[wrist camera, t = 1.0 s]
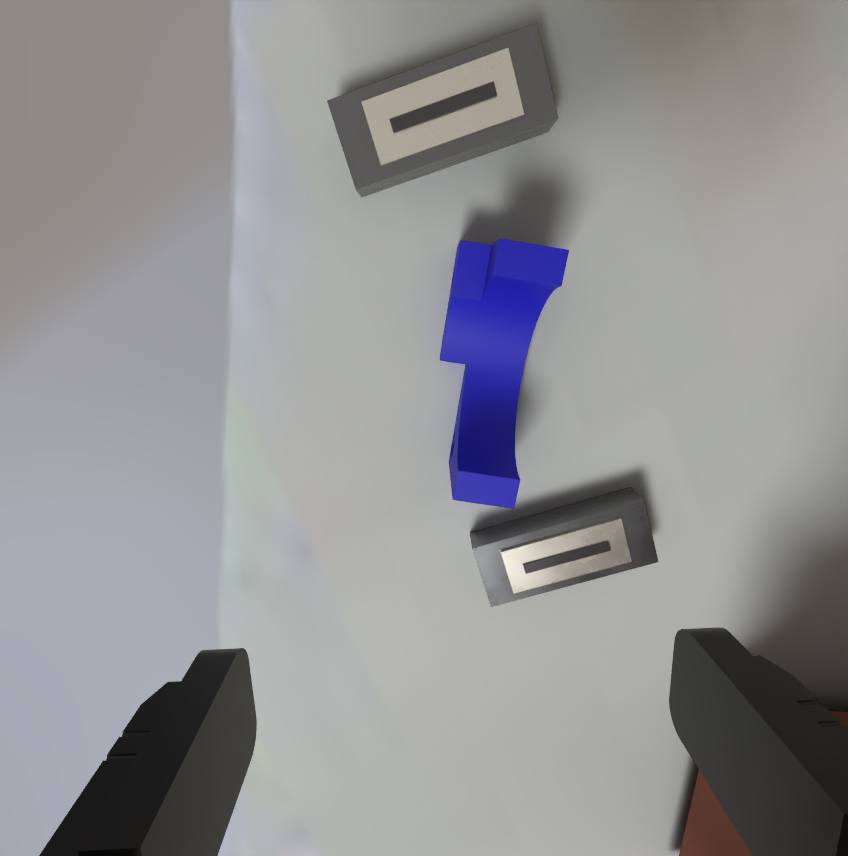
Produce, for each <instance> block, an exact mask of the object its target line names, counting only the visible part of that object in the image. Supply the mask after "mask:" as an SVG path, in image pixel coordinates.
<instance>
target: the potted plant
mask: <svg viewBox="0 0 848 856" xmlns="http://www.w3.org/2000/svg"><path fill="white" fill-rule="evenodd" d="M829 712H830V713H832V714H833V715H834V716H835V717H836V718H837V719H838V720H839V724H840V726H845V727H846V728H847V729H848V712H839V711H829ZM679 856H753V855H752V854H751V852H750V851H749V849H748V847H747V846H746V844H745V843H744V841H743V839H742V838H741V836H740V835H739V833H738V831H737V830H736V828H735V827H734V825H733V823H732V822H731V820H730V818H729V817H728V815H727V814H726V812H725V810H724V809H723V807H722V806H721V804H720V802H719V801H718V799H717V798H716V796H715V794H714V793H713V791H712V790H711V788H710V786H709V785H708V783H707V781H706V780H705V778H704V777H703V775H702V773H701V772H700V770H699V772H698V776H697V780H696V785H695V789H694V793H693V798H692V802H691V806H690V811H689V815H688V819H687V824H686V828H685V832H684V837H683V841H682V845H681V850H680V854H679Z"/></svg>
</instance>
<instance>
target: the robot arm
mask: <svg viewBox="0 0 848 856" xmlns="http://www.w3.org/2000/svg"><path fill="white" fill-rule="evenodd" d="M669 705H670V712H671V717H672V721H673V724H674V727H675V729H676V732H677V734H678V736H679V738H680V740H681V741H682V743H683V744H684V746H685V748H686V749H687V751H688V753H689V754H690V756H691V757H692V759H693V761H694V762H695V764H696V765H697V767H698V769H699V770H700V772H701V773H702V775H703V777H704V778H705V780H706V781H707V783H708V785H709V786H710V788H711V790H712V791H713V793H714V794H715V796H716V798H717V799H718V801H719V802H720V804H721V806H722V807H723V809H724V810H725V812H726V814H727V815H728V817H729V818H730V820H731V822H732V823H733V825H734V827H735V828H736V830H737V831H738V833H739V835H740V836H741V838H742V839H743V841H744V843H745V844H746V846H747V847H748V849H749V851H750V852H751V854H752V855H753V856H848V729H847V728H846V727H845V726H840V724H839V720H838V719H837V718H836V717H835V716H834V715H833V714H832V713H830V712H829V711H828V710H827V709H826V708H825V707H824V706H823V705H819V704H818V702H817V699H816V698H815V697H814V696H813V695H812V694H811V693H810V692H809V691H808V690H807V689H806V688H805V687H804V686H803V685H802V684H801V683H800V682H799V681H797V680H796V679H795V678H794V677H793V676H792V675H791V674H789V673H788V672H786V671H784V670H783V669H781V668H779V667H778V666H776V665H774V664H773V663H771V662H770V661H768V660H766V659H765V658H763V657H761V656H752V655H751V654H750V653H749V652H748V651H747V650H746V649H745V648H744V647H743V646H742V645H741V644H740V643H739V641H738V640H737V639H736V638H735V637H734V636H733V635H732V634H731V633H730V632H729V631H727V630H726V629H724V628H699V629H681V630H679V631H678V632H677V634H676V637H675V642H674V653H673V664H672V674H671V685H670V696H669ZM255 739H256V712H255V704H254V697H253V689H252V681H251V674H250V666H249V659H248V655H247V652H246V650H245V649H244V648H239V649H217V650H203V651H201V652H200V653H198V655H197V656H196V658H195V660H194V661H193V663H192V664H191V666H190V668H189V669H188V671H187V673H186V674H185V676H184V678H183V679H182V681H180V682H168V683H166V684H165V685H164V686H163V687H161V688H160V689H159V690H158V691H157V692H155V694H153V695H152V696H151V697H150V698H148V699H147V700H146V701H145V702H144V703H143V704H141V705H140V707H139V708H138V710H137V711H136V713H135V715H134V716H133V717H132V719H131V721H130V722H129V723H128V725H127V726H126V728H125V729H124V731H123V735H122V737H119V738H118V740H117V741H116V743H115V744H114V746H113V747H112V749H111V750H110V752H109V753H108V755H107V759H106V761H103V762H102V763H101V765H100V766H99V768H98V769H97V771H96V772H95V774H94V775H93V777H92V778H91V780H90V781H89V783H88V784H87V786H86V787H85V789H84V790H83V792H82V793H81V795H80V796H79V797H78V799H77V800H76V802H75V803H74V805H73V806H72V808H71V809H70V811H69V812H68V814H67V816H66V817H65V818H64V820H63V821H62V823H61V824H60V826H59V827H58V829H57V830H56V832H55V833H54V835H53V836H52V838H51V839H50V841H49V842H48V843H47V845H46V846H45V848H44V850H43V851H42V853H41V854H40V855H39V856H217V855H218V852H219V849H220V847H221V844H222V841H223V838H224V835H225V832H226V829H227V827H228V824H229V821H230V818H231V815H232V812H233V810H234V807H235V804H236V801H237V798H238V795H239V792H240V790H241V787H242V784H243V781H244V778H245V775H246V772H247V770H248V767H249V764H250V761H251V758H252V755H253V751H254V746H255Z"/></svg>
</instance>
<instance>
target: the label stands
mask: <svg viewBox="0 0 848 856" xmlns="http://www.w3.org/2000/svg"><path fill="white" fill-rule="evenodd" d="M327 102H328V105H329V108H330V111H331V114H332V117H333V120H334V123H335V126H336V129H337V133H338V136H339V139H340V142H341V145H342V148H343V151H344V154H345V157H346V160H347V163H348V167H349V170H350V173H351V176H352V179H353V182H354V185H355V188H356V190H357V192H358V193H359V195H360V196H361V197H364V196H367V195H369V194H372V193H375V192H378V191H381V190H384V189H387V188H389V187H392V186H395V185H398V184H401V183H404V182H407V181H409V180H412V179H415V178H418V177H421V176H424V175H426V174H429V173H432V172H435V171H438V170H441V169H444V168H446V167H449V166H452V165H455V164H458V163H461V162H464V161H466V160H469V159H472V158H475V157H478V156H481V155H484V154H486V153H489V152H492V151H495V150H498V149H501V148H503V147H506V146H509V145H512V144H515V143H518V142H521V141H523V140H526V139H529V138H532V137H535V136H538V135H541V134H543V133H546V132H549V130H550V129H551V128H552V126H553V125H554V123H555V122H556V121H557V119H558V116H557V111H556V107H555V102H554V98H553V94H552V89H551V85H550V80H549V76H548V71H547V67H546V63H545V58H544V54H543V49H542V45H541V40H540V36H539V32H538V27H537V23H535V24H532V25H530V26H527V27H524V28H522V29H519V30H516V31H514V32H511V33H508V34H506V35H503V36H500V37H497V38H495V39H492V40H489V41H487V42H484V43H481V44H479V45H476V46H473V47H470V48H468V49H465V50H462V51H460V52H457V53H454V54H452V55H449V56H446V57H443V58H441V59H438V60H435V61H433V62H430V63H427V64H425V65H422V66H419V67H416V68H414V69H411V70H408V71H406V72H403V73H400V74H398V75H395V76H392V77H389V78H387V79H384V80H381V81H379V82H376V83H373V84H371V85H368V86H365V87H363V88H360V89H357V90H354V91H352V92H349V93H346V94H344V95H341V96H338V97H336V98H333V99H330V100H327ZM470 537H471V543H472V549H473V552H474V555H475V558H476V561H477V564H478V567H479V570H480V574H481V577H482V580H483V583H484V586H485V589H486V592H487V595H488V598H489V601H490V604H491V607H493V606H497V605H500V604H504V603H508V602H511V601H515V600H519V599H523V598H526V597H530V596H534V595H537V594H541V593H545V592H548V591H552V590H556V589H560V588H563V587H567V586H571V585H574V584H578V583H582V582H586V581H589V580H593V579H597V578H600V577H604V576H608V575H611V574H615V573H619V572H623V571H626V570H630V569H634V568H637V567H641V566H645V565H649V564H652V563H656V562H658V558H657V554H656V550H655V545H654V541H653V536H652V532H651V527H650V523H649V519H648V514H647V510H646V505H645V501H644V499H643V498H641V497H640V496H639V495H638V494H637V493H636V492H635V491H634V490H633V489H632V488H631V487H630V488H626V489H623V490H619V491H616V492H612V493H609V494H605V495H602V496H598V497H595V498H591V499H588V500H584V501H580V502H577V503H573V504H570V505H566V506H563V507H559V508H556V509H552V510H549V511H545V512H542V513H538V514H535V515H531V516H528V517H524V518H521V519H517V520H514V521H510V522H507V523H503V524H500V525H496V526H492V527H489V528H485V529H482V530H478V531H475V532H471V533H470Z"/></svg>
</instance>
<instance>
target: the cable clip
mask: <svg viewBox="0 0 848 856" xmlns="http://www.w3.org/2000/svg"><path fill="white" fill-rule="evenodd" d="M568 253H569V250H566V249H560V248H554V247H548V246H541V245H535V244H529V243H523V242H516V241H510V240H504V239H499V240H497V241H496V242H495V243H494V244H493V245H486V244H479V243H473V242H467V241H460V242H459V244H458V247H457V253H456V259H455V266H454V272H453V278H452V284H451V291H450V297H449V303H448V309H447V316H446V322H445V328H444V334H443V341H442V347H441V353H440V360H441V361H447V362H454V363H460V364H466V365H465V371H464V377H463V383H462V388H461V394H460V400H459V406H458V411H457V417H456V423H455V429H454V435H453V440H452V446H451V452H450V458H449V468H450V478H451V487H452V496H453V500H458V501H465V502H471V503H478V504H485V505H492V506H499V507H505V508H512V509H514V507H515V502H516V497H517V492H518V488H519V483H520V478H519V476H518V472H517V467H516V459H515V425H516V413H517V404H518V397H519V390H520V384H521V379H522V374H523V369H524V364H525V360H526V356H527V352H528V348H529V344H530V341H531V338H532V334H533V331H534V328H535V326H536V323H537V320H538V318H539V315H540V313H541V311H542V308H543V306H544V304H545V303H546V301H547V299H548V297H549V296H550V295H551V293H552V292H553V291H554V290H555V289H556V288H558V287H560V286H561V285H562V281H563V276H564V271H565V267H566V262H567V257H568Z"/></svg>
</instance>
